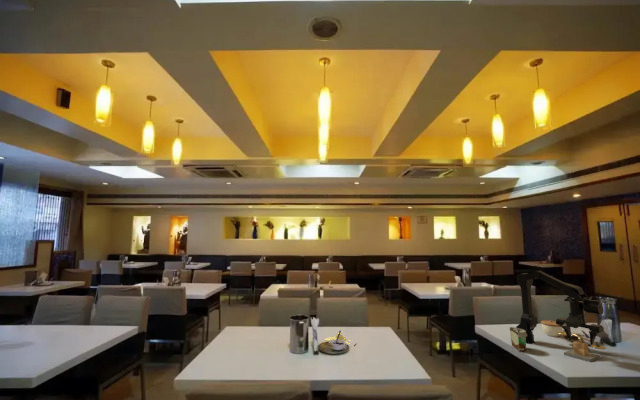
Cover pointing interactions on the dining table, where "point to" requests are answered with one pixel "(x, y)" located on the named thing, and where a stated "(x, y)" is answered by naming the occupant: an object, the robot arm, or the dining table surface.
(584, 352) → the oak block
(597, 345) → the brass balance
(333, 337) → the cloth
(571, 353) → the grey stone square slab
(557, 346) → the dining table surface
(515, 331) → the food container
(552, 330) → the lidded jar
